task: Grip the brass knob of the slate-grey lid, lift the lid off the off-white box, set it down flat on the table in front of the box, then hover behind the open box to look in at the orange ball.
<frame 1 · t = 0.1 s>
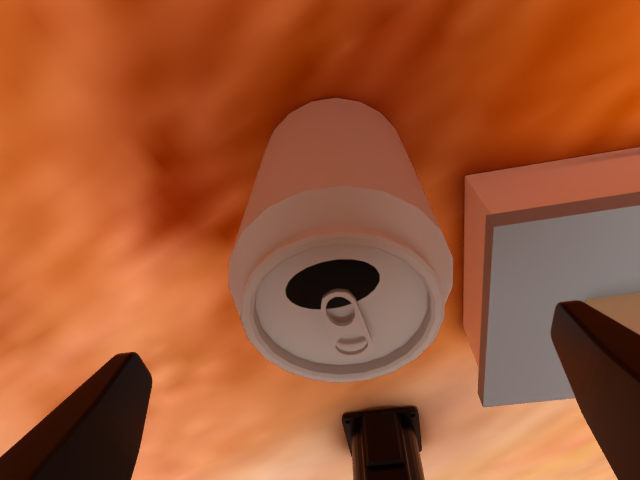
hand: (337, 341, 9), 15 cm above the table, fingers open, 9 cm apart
box: (562, 247, 25), on the table
lid: (610, 302, 21), point 5 cm above the table, touching box
can: (333, 162, 22), on the table
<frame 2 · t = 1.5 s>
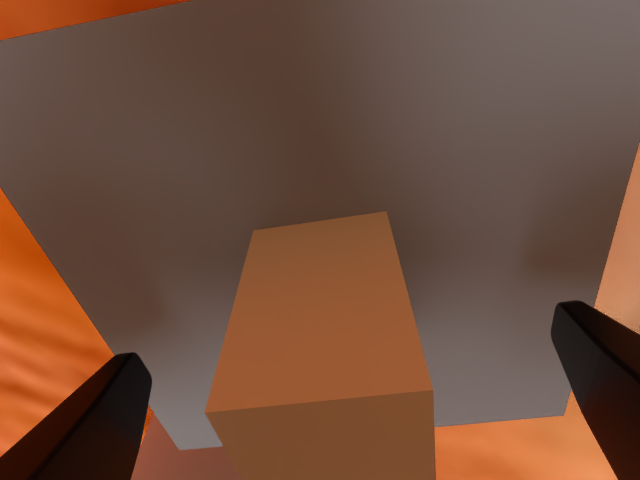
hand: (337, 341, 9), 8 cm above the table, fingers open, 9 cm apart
lid: (331, 264, 11), point 5 cm above the table, touching box
can: (227, 405, 23), on the table
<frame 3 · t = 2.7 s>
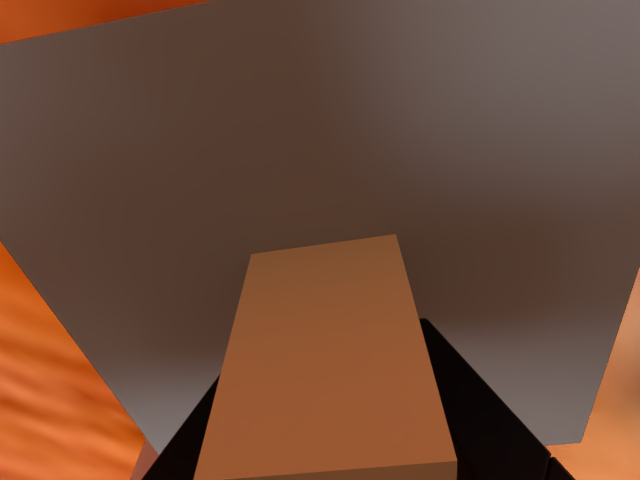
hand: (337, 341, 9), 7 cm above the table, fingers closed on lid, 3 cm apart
lid: (335, 286, 10), point 5 cm above the table, touching box, gripper
can: (226, 419, 22), on the table
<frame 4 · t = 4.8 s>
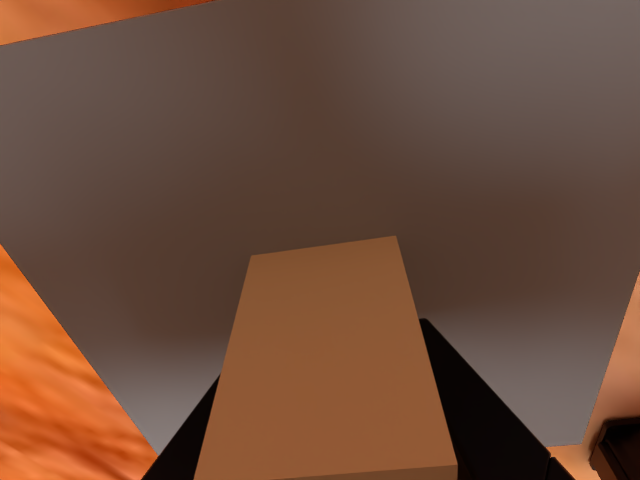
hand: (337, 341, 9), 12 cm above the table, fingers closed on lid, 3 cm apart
lid: (335, 287, 10), point 10 cm above the table, touching gripper
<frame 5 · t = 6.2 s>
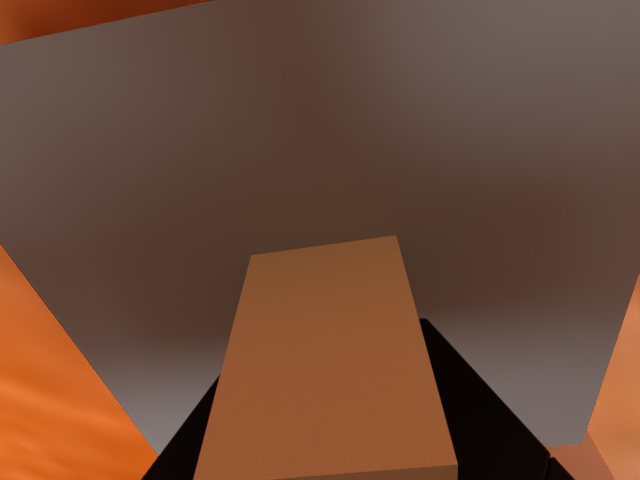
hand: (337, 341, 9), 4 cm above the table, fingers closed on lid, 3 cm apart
box: (419, 476, 20), on the table
lid: (335, 287, 10), point 2 cm above the table, touching gripper
when the fingers open (3 cm above the table, at t = 7.1 s): lid drops 2 cm, on the table.
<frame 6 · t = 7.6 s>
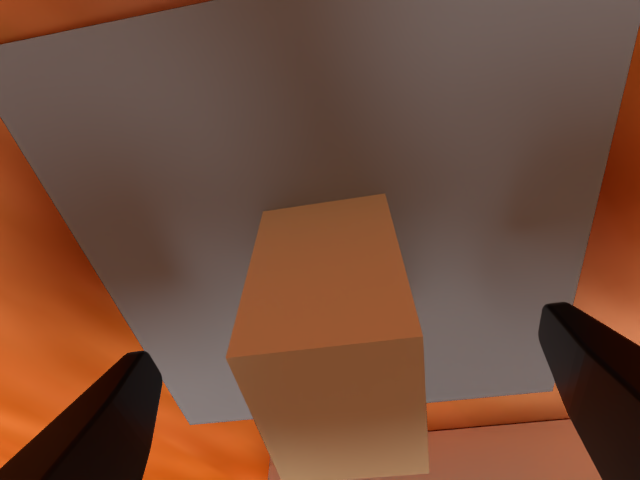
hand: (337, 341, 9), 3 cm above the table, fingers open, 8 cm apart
lid: (334, 245, 12), on the table
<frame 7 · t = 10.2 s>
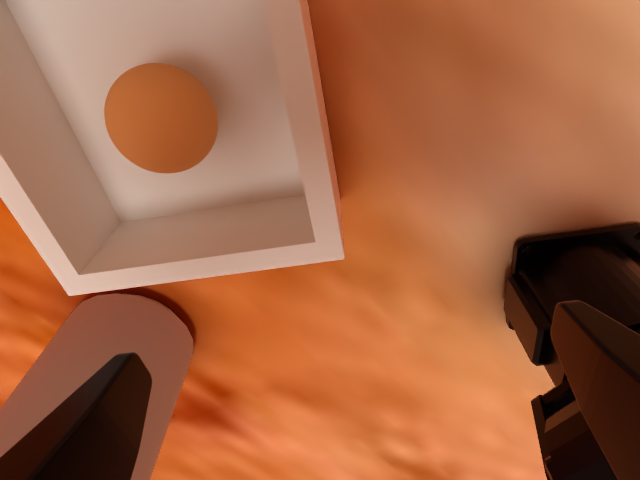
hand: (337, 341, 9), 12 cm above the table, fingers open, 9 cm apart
box: (184, 100, 18), on the table
can: (139, 326, 26), on the table
ball: (163, 120, 15), point 3 cm above the table, touching box
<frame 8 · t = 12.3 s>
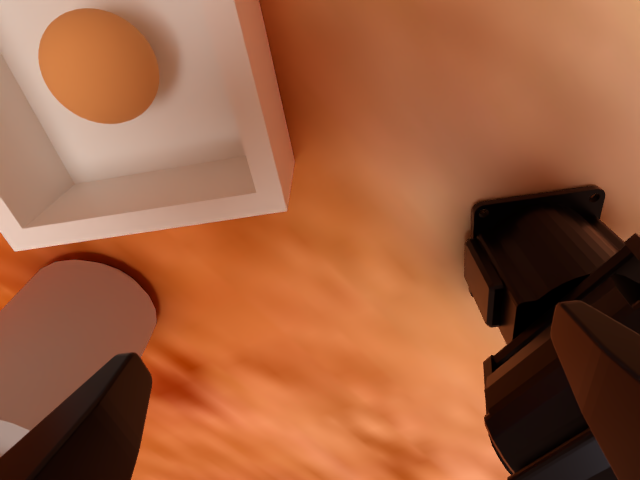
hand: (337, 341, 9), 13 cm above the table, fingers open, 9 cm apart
box: (132, 55, 18), on the table
can: (102, 296, 26), on the table
ball: (102, 69, 15), point 3 cm above the table, touching box
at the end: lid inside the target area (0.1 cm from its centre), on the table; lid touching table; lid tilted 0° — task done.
